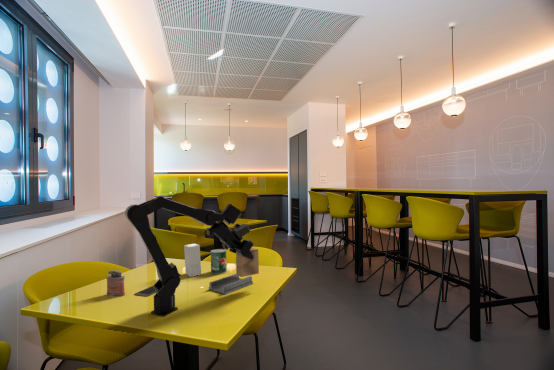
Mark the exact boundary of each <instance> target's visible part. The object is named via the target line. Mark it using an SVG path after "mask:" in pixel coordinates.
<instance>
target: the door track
mask: <svg viewBox="0 0 554 370" xmlns="http://www.w3.org/2000/svg"><path fill="white" fill-rule="evenodd" d="M253 284H254V282H253V276H252V275H249V276H246V277H244V278H242V277H241V278H240V276H238V275H236V273H234V274H232V275H228V276H225V277H222V278H218V279H216V280H213V281H210V282H209V283H208V285H209V286H208V290H209V291H213V292H215V293H219V294H222V295H224V296H225V295H228V294H230V293H233V292H235V291H238V290H240V289H243V288H245V287H249V286H251V285H253Z"/></svg>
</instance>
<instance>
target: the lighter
mask: <svg viewBox="0 0 554 370" xmlns="http://www.w3.org/2000/svg"><path fill="white" fill-rule="evenodd" d="M122 272H123V271H120V270H119V269H116V270H113V269H112V270H111V269H110V270H108V271H107V273H108V275H107V276H106V296H108V297H115V298H117V297H124V296H125V295H126V292H125V275H122Z"/></svg>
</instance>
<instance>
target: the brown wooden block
mask: <svg viewBox="0 0 554 370" xmlns="http://www.w3.org/2000/svg"><path fill="white" fill-rule="evenodd" d="M250 251H251V253H252V255H253V257H254V258H253V259H249V258H246V257H243V256H240V255H238V253H237V250H236V253H235V266H236V267H235V269H236V270H235V271H236V273H235V274H236V275H238V276H239V278H240V277H241V278H243V277H244V278H245V277H249V276H254V275H259V273H260V272H259V271H260V270H259V269H260V266H259V262H260V261H259V249H258V248H255V247H252V248H251V249H250Z"/></svg>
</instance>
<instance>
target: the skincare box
mask: <svg viewBox="0 0 554 370" xmlns="http://www.w3.org/2000/svg"><path fill="white" fill-rule="evenodd" d="M183 249H184V268H185V274H186V275H187V276H189V277H190V278H191V277H197V275H198V276H201V275H202V265H201V264H202V263H201V246H200V244H198V243H191V244H190V243H189V244H185V245H184V246H183Z"/></svg>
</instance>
